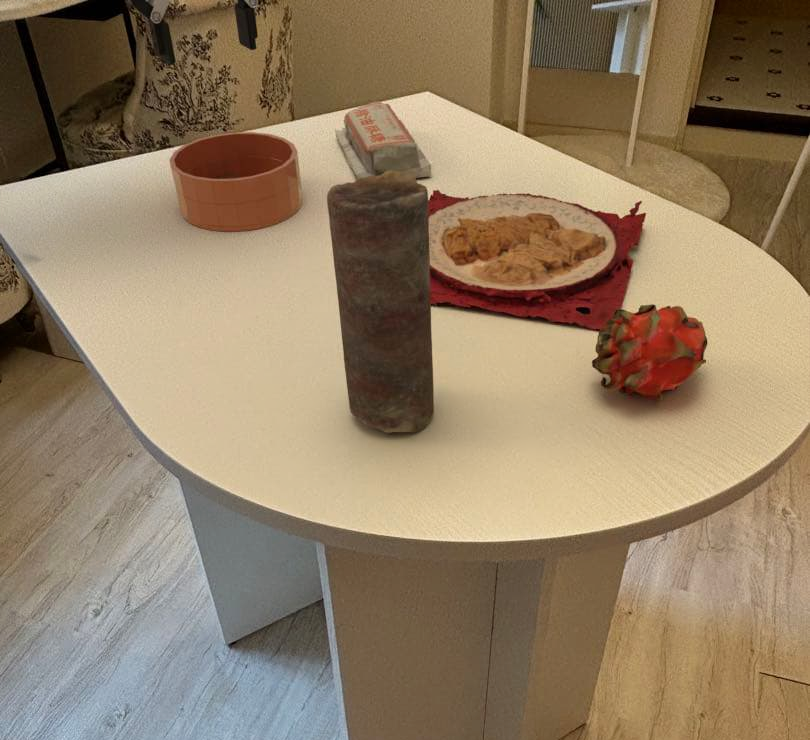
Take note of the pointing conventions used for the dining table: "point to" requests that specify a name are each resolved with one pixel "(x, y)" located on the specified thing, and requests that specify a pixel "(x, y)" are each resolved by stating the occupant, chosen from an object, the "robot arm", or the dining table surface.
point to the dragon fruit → (649, 350)
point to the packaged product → (380, 143)
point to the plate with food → (530, 256)
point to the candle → (384, 298)
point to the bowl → (237, 181)
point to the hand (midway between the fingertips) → (208, 54)
